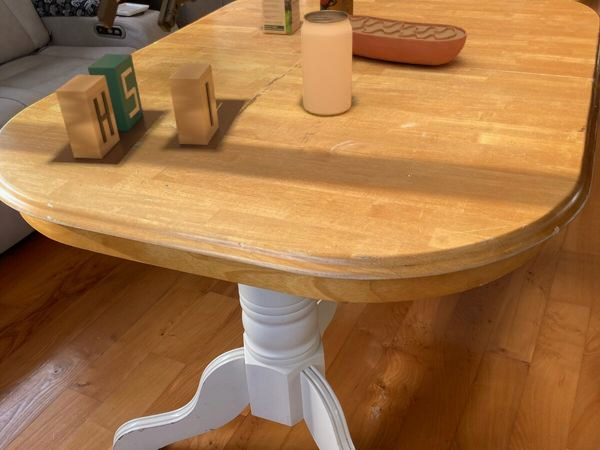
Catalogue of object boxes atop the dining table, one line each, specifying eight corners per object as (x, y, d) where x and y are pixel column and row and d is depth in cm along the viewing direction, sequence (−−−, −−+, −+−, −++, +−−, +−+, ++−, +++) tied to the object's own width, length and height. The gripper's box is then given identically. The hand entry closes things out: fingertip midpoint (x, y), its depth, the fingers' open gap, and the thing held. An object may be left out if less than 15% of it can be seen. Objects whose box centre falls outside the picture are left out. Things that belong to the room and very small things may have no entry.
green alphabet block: (102, 130, 72) (87, 67, 68) (119, 114, 77) (105, 53, 72) (129, 131, 72) (115, 67, 67) (144, 115, 76) (132, 54, 72)
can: (344, 119, 75) (344, 24, 68) (296, 114, 77) (292, 21, 70) (356, 101, 80) (358, 10, 73) (311, 96, 82) (309, 8, 75)
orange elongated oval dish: (470, 59, 93) (475, 27, 90) (449, 79, 86) (453, 44, 83) (342, 41, 103) (343, 12, 100) (314, 58, 96) (314, 27, 93)
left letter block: (53, 169, 66) (30, 93, 61) (109, 116, 79) (93, 49, 74) (119, 172, 65) (101, 95, 60) (165, 118, 77) (153, 50, 72)
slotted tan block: (167, 155, 68) (153, 80, 63) (204, 105, 81) (195, 40, 76) (216, 157, 67) (207, 81, 62) (246, 107, 80) (240, 40, 75)
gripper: (101, -108, 74) (67, 7, 72) (201, -110, 70) (169, 13, 68) (132, -68, 81) (102, 39, 79) (225, -67, 77) (197, 45, 75)
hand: (133, 26), depth 73 cm, fingers open, 8 cm apart
